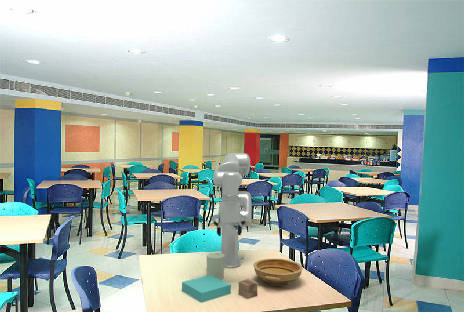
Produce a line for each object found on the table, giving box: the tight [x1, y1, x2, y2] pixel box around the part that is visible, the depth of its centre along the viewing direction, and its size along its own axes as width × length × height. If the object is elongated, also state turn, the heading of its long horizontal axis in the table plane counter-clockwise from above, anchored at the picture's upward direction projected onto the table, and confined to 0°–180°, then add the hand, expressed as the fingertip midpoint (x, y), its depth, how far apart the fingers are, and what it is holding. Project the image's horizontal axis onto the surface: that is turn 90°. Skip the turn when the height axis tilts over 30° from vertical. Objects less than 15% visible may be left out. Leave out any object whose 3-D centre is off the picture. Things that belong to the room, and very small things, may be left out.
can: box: [205, 252, 225, 281], centre depth 184 cm, size 9×9×12 cm
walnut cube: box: [237, 278, 259, 300], centre depth 163 cm, size 6×6×6 cm
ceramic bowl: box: [253, 258, 303, 287], centre depth 180 cm, size 30×24×8 cm
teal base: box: [181, 275, 232, 303], centre depth 166 cm, size 16×16×4 cm
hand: (229, 235), depth 170 cm, fingers open, 9 cm apart
